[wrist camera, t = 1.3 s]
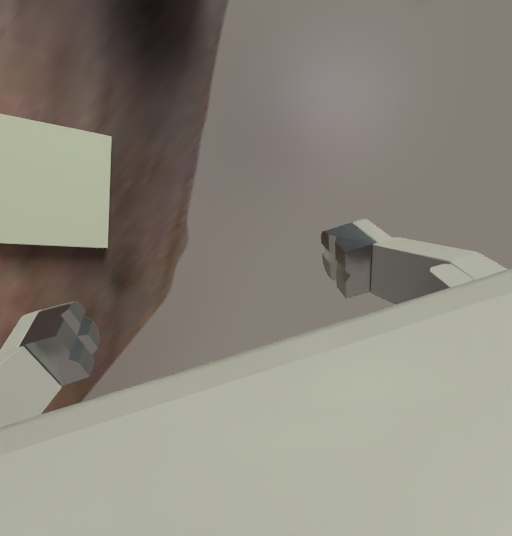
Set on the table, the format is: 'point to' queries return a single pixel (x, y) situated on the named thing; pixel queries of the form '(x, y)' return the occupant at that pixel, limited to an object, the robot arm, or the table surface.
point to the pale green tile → (53, 184)
